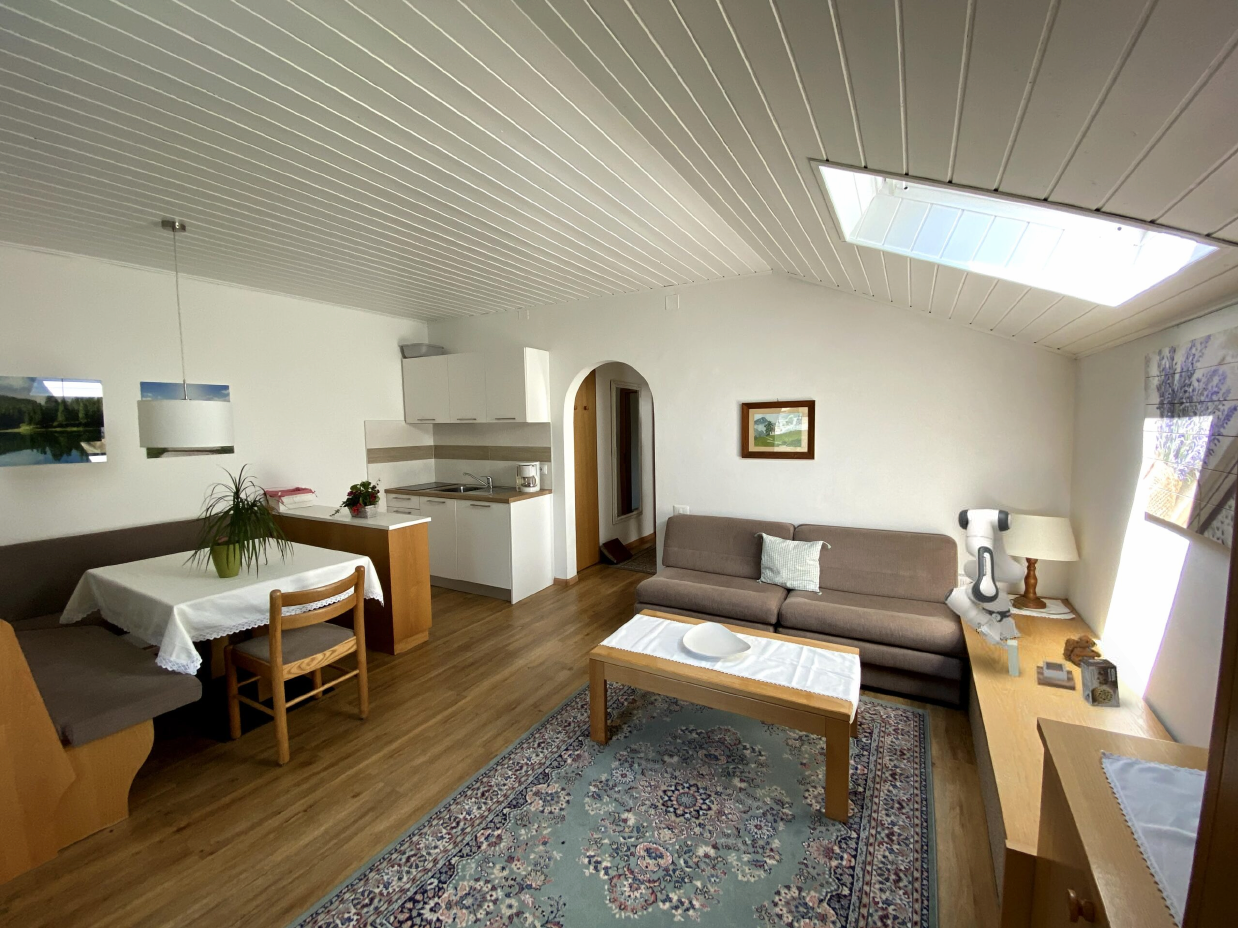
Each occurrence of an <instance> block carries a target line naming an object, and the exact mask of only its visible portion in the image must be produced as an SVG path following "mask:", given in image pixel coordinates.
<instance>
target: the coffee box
mask: <svg viewBox="0 0 1238 928" xmlns="http://www.w3.org/2000/svg"><path fill="white" fill-rule="evenodd" d="M1080 665H1081V668H1080V676H1081V686H1082V687H1081V690H1082V699H1083V698H1084V699H1083V700H1084V701H1086V702H1087V703H1088V705H1090V706H1091V705H1092V706H1091V707H1120V706H1121V705H1120V694H1119V693H1120V692H1119V691H1120V690H1119V683H1118V682H1119V681H1118V667H1117V665H1115V664H1114V663H1113V662H1111V661H1110V660H1108V659H1107V658H1106V659H1104V658H1095V659H1080ZM1093 705H1094V706H1093Z"/></svg>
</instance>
